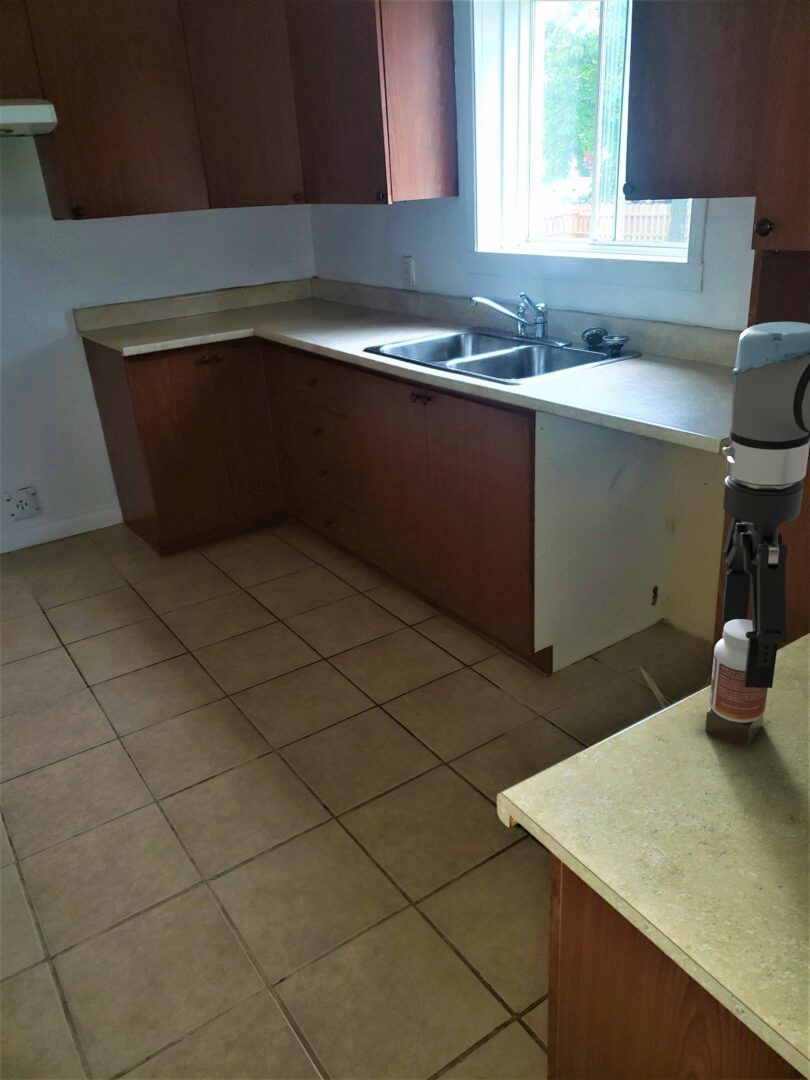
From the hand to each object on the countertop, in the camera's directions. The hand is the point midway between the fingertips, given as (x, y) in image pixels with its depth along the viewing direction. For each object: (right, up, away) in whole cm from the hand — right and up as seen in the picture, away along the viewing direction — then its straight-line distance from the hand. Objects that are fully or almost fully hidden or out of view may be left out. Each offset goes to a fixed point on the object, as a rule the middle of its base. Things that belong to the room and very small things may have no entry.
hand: (745, 651), depth 93 cm
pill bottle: (+1, -8, +4) cm, 9 cm away
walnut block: (+1, -10, +5) cm, 11 cm away
